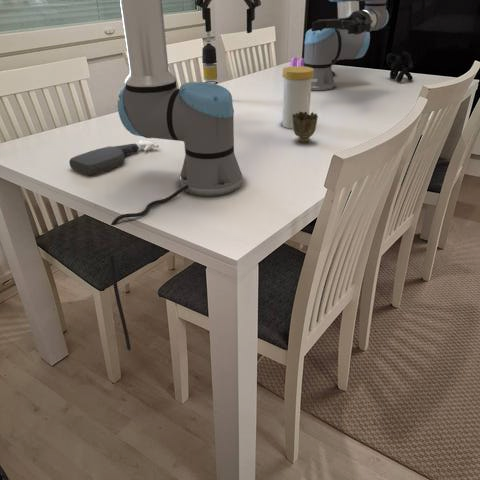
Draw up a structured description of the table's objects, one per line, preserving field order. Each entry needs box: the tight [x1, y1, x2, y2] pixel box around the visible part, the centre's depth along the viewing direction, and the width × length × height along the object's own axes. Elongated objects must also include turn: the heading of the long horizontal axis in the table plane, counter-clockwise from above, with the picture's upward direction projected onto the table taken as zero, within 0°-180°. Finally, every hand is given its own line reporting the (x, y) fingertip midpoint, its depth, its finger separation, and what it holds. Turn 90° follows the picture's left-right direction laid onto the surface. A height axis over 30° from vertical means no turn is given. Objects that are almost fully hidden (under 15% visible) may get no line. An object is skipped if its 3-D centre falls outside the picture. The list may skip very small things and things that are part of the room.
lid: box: [282, 65, 314, 80], centre depth 140 cm, size 10×10×2 cm
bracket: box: [290, 56, 304, 67], centre depth 217 cm, size 13×6×7 cm, turn 143°
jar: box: [282, 78, 312, 130], centre depth 144 cm, size 9×9×17 cm
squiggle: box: [385, 51, 414, 83], centre depth 198 cm, size 11×10×15 cm
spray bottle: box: [68, 139, 160, 177], centre depth 124 cm, size 3×11×24 cm
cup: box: [292, 111, 319, 144], centre depth 132 cm, size 8×7×8 cm
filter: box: [201, 31, 219, 85], centre depth 171 cm, size 6×6×30 cm
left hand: (228, 32), depth 139 cm, fingers open, 13 cm apart
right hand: (330, 28), depth 145 cm, fingers open, 13 cm apart
